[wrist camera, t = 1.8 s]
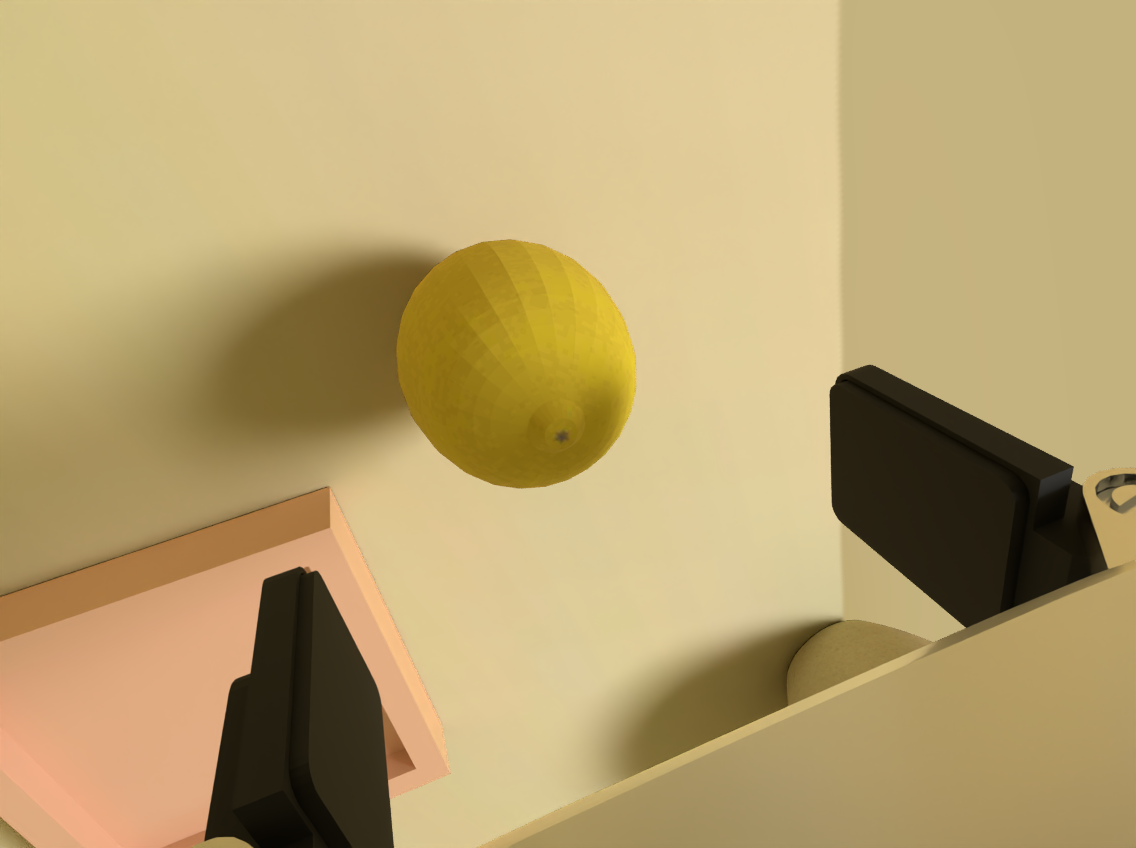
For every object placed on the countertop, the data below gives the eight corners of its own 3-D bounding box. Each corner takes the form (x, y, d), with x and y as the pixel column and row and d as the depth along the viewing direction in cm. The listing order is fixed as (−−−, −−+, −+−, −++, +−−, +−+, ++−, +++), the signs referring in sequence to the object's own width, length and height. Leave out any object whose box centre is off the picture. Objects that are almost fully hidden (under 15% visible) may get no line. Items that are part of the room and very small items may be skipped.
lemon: (352, 354, 19) (367, 510, 13) (438, 174, 18) (508, 242, 11) (517, 420, 22) (603, 578, 15) (605, 267, 21) (741, 368, 14)
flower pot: (950, 576, 33) (1089, 690, 27) (865, 725, 37) (970, 854, 31) (787, 574, 30) (906, 705, 23) (710, 739, 33) (796, 889, 27)
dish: (-98, 630, 19) (-143, 691, 17) (329, 486, 21) (330, 527, 19) (127, 852, 25) (112, 914, 23) (441, 725, 27) (450, 773, 25)
